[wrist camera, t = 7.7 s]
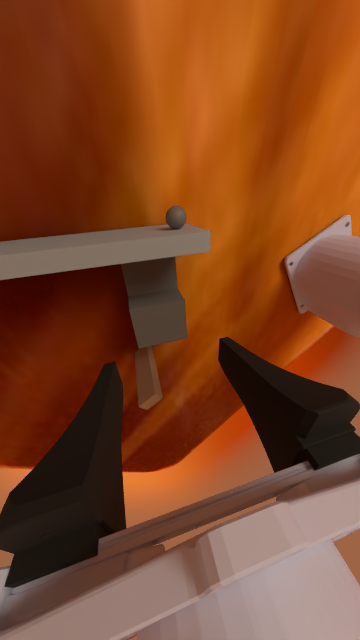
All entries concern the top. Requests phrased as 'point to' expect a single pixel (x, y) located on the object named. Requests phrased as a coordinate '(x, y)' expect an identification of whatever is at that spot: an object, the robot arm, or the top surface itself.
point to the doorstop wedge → (155, 301)
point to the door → (102, 247)
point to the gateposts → (147, 378)
